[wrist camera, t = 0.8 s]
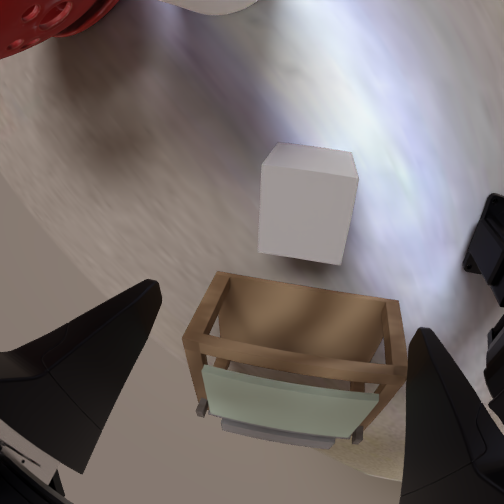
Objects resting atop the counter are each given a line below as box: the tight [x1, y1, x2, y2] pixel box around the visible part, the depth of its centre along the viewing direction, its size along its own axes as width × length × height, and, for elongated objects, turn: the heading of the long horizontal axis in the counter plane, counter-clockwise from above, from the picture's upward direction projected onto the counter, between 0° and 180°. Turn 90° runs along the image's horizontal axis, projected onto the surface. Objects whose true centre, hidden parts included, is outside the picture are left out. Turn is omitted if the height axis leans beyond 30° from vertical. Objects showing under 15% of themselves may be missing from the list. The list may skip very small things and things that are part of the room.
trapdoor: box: [202, 364, 379, 449], centre depth 20 cm, size 12×10×1 cm
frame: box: [182, 271, 408, 444], centre depth 23 cm, size 15×11×9 cm
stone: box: [258, 142, 359, 265], centre depth 17 cm, size 5×5×5 cm
